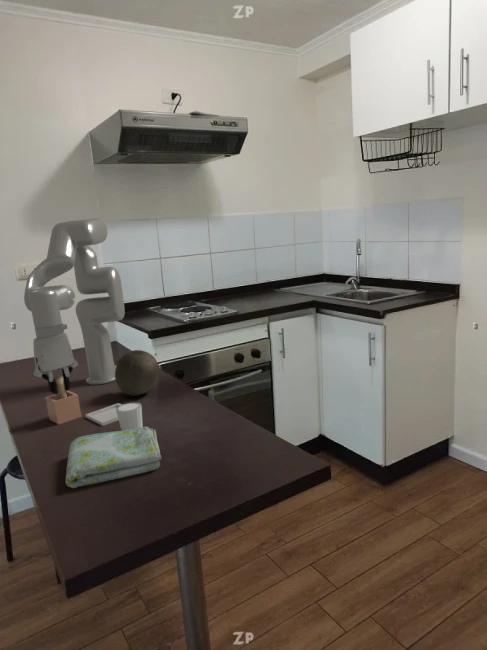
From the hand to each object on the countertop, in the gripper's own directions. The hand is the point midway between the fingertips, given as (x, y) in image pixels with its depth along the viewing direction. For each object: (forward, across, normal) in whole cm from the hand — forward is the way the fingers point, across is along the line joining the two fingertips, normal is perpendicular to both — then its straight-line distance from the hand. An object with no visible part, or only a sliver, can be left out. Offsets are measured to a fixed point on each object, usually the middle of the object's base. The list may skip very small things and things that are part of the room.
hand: (60, 390), depth 144 cm
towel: (+10, +4, +39) cm, 41 cm away
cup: (+9, 0, 0) cm, 9 cm away
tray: (+9, -10, +11) cm, 17 cm away
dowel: (+9, 0, 0) cm, 9 cm away
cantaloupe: (+9, -26, 0) cm, 28 cm away
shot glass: (+9, -8, +26) cm, 29 cm away
